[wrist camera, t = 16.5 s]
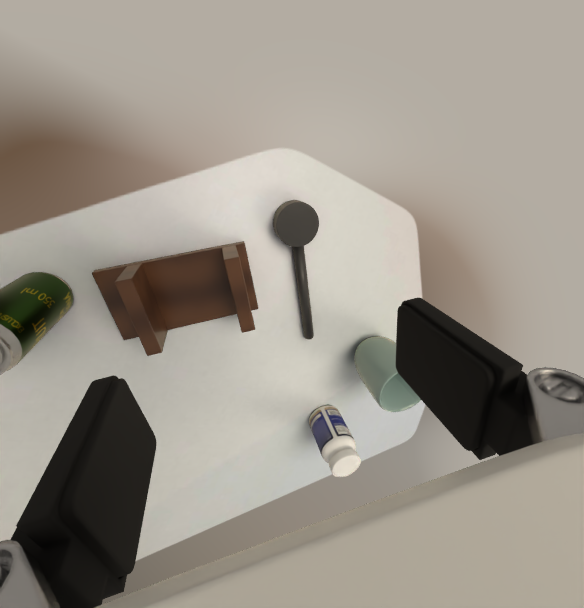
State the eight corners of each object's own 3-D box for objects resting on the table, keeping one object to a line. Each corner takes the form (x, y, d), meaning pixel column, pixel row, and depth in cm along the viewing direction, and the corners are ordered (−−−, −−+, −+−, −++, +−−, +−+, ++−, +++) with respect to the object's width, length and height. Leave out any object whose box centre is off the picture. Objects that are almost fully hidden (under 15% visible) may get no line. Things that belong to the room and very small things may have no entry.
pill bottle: (313, 432, 53) (333, 485, 45) (304, 412, 51) (324, 464, 42) (341, 419, 54) (367, 469, 45) (334, 399, 51) (360, 447, 42)
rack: (94, 270, 33) (72, 290, 28) (243, 241, 36) (249, 254, 30) (125, 336, 37) (111, 364, 32) (257, 305, 40) (264, 327, 34)
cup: (387, 364, 51) (424, 406, 42) (345, 372, 49) (375, 417, 40) (393, 325, 47) (435, 362, 39) (349, 332, 46) (382, 372, 37)
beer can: (11, 303, 32) (-84, 371, 22) (25, 261, 31) (-71, 312, 20) (67, 320, 34) (5, 389, 24) (82, 282, 33) (23, 337, 23)
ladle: (291, 340, 43) (294, 347, 42) (269, 204, 34) (272, 206, 33) (324, 332, 44) (328, 338, 43) (311, 196, 35) (316, 198, 34)
